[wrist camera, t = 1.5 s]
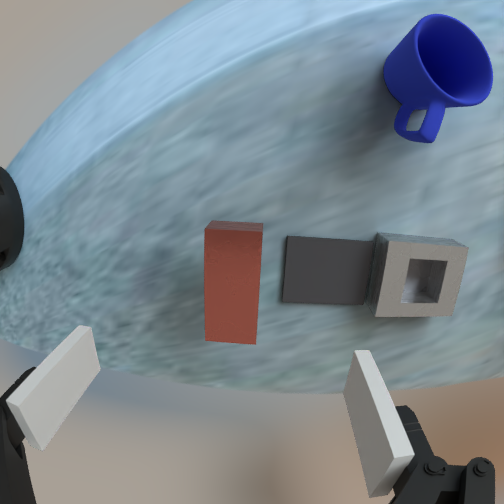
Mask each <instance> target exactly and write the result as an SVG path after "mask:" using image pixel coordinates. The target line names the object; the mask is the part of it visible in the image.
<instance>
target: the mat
mask: <svg viewBox="0 0 504 504" xmlns="http://www.w3.org/2000/svg"><path fill="white" fill-rule="evenodd" d="M373 244H374V243H373V242H372V241H359V240H345V239H330V238H315V237H300V236H287V249H286V261H285V273H284V284H283V296H282V302H299V303H323V304H355V305H363V304H364V298H365V293H366V288H367V282H368V276H369V270H370V264H371V258H372V251H373Z"/></svg>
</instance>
